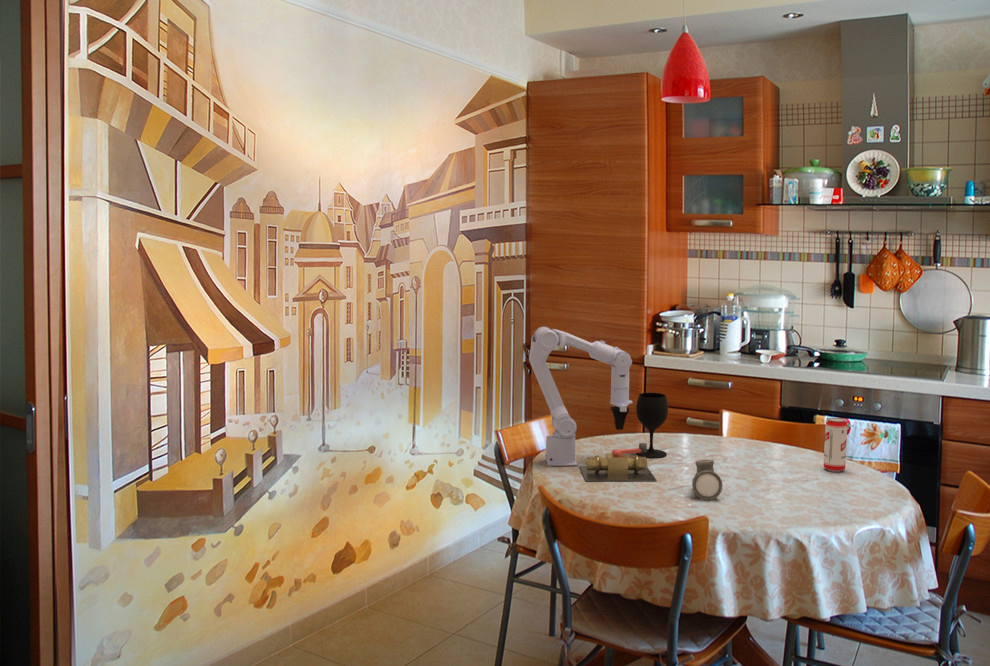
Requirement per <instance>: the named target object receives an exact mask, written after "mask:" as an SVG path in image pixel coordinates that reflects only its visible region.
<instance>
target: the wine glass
mask: <svg viewBox="0 0 990 666" xmlns="http://www.w3.org/2000/svg"><path fill="white" fill-rule="evenodd" d="M635 411H636V412H635V414H636V416H637V419H638V421H639V423H640V424H641V425H642V426H643V427H644V428H645V429H647V430H648V432H649V447H648V448H647V452H644V453H643V452H640V453H634V454H635V455H638V457H646V458H647V459H663V458H665V457H666V456H667V455H668V454H667V452H666V451H664V450H661V449H655V448H654V433H655V431H656V430H657V429H658V428H660V427H661V426H662V425H663V424H664V423H665V422H666V420H667V418H668V416H669V415H668V414H669V403H668V398H667V395H666V394H664V393H660V392H642V393H639V394H638V397H637V400H636V406H635Z"/></svg>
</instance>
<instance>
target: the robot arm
mask: <svg viewBox="0 0 990 666" xmlns="http://www.w3.org/2000/svg"><path fill="white" fill-rule="evenodd" d="M530 341H531V343H530V350H529V355H528V361H529V363H530V366H531V369H532V370H533V373H534V375H535V378H536V380H537V382H538V384H539V387H540V390H541V391H542V395H543V396H544V399H545V402H546V404H547V406H548V408H549V412H550V416H551V425H552V427H553V429H554V430H553V432H552V435H546V438H545V453H544V454H545V455H544V457H545V462H546V465H547V466H548V467H552V466H553V467H555V466H557V467H561V466H563V467H565V466H566V467H567V466H569V467H572V466H574V467H575V466H577V467H578V461H577V460H576V432H577V428H578V426H577V423H576V420H574V419H573V418H572V417H571V416H570V414H569V412H568V410H567V408H566V406H565V404H564V401H563V399H562V397H561V395H560V392H559V390H558V386H557V385H556V383H555V381H554V377H553V376H552V373H551V371H550V368H549V366H548V364H547V363H548V362H547V359H548V357H549V356H550V354H551V352H552V351H554V349H555V348H556V347H557V346H558V347H563V346H570V347H571V348H572V347H573V348H576V349H578V350H582V351H584V352H587V353H588V354H589V357H590V358H591V359H594V360H597V361H598V362H602V363H604V364H607V365H611V377H610V382H611V383H610V401H609V403H610V405H613V406H610V410H611V412H612V416H613V417H612V418H613V420H614V426H615V430H616V431H617V430H618V431H619V430H620V431H623V430H624V427H625V423H626V418H627V416H628V414H629V412H630V408H629V405H631V404H633V400H630V367H631V366H632V365H633V360H632V357H631V355H630V353H628V352H627V351H625V350H622V349H621V348H620V347H618V346H616V345H615V346H612V345H609V344H607V343H606V341H604V340H602V339H600V341H599V340H595V341H593V342H590V341H587V340H585V339H583V338H580V337H579V336H577V335H576V336H575V335H573V334H571V333H568V332H566V331H563V330H559V329H555V328H552V329H551V328H550V327H548V326H540V327H538V328H537V329H536V330H535V331H534V333H533V335H532V336H531V340H530Z"/></svg>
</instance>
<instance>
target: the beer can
mask: <svg viewBox="0 0 990 666" xmlns="http://www.w3.org/2000/svg"><path fill="white" fill-rule="evenodd" d="M824 428H825V429H824V450H823V451H824V452H823V468H824V469H825V470H826V471H827V470H828V471H827V472H831V471H832V473H841V472H840V471H842V472H843V471H844V470H846V464H847V463H846V462H847V461H846V460H847V459H846V457H847V437H848V436H847V435H848V424H847V422H846V419H844V418H840V417H829V418H827V421H826V422H825V427H824Z"/></svg>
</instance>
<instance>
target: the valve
mask: <svg viewBox="0 0 990 666" xmlns="http://www.w3.org/2000/svg"><path fill="white" fill-rule="evenodd" d="M585 460H586V464H585V465H579V470H580V471H581V474H582V477H583V478H584V481H585V483H623V482H627V483H630V482H633V483H634V482H636V483H637V482H638V483H639V482H641V483H643V482H644V483H645V482H646V483H649V482H650V483H651V482H653V483H654V482H657V481H658V480H657V479H656V477H655V475H654V474H653V473H652V472H651V470H650V469H649V467H648V458H646V457H640V456H638V455H636V454H635V455H633V456H628V455H627V454H621V455H619V456H615V455H612V452H605V456H600V455H594V456H590V457H589V456H588V457H586V459H585Z"/></svg>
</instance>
